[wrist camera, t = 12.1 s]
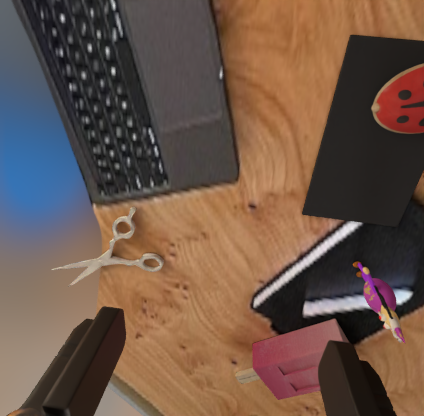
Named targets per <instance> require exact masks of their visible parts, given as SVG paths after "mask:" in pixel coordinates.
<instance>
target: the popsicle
mask: <svg viewBox="0 0 424 416" xmlns="http://www.w3.org/2000/svg"><path fill="white" fill-rule="evenodd" d="M329 340H335V341H342V342H348V343H349V341H348V339H347V338H346V336H345V334H344V333H343V331H342V329H341V327H340V326H339V324H338V322H337V321H336V319H332V320H329V321H325V322H322V323H319V324H315V325H312V326H309V327H305V328H302V329H299V330H295V331H292V332H289V333H286V334H282V335H279V336H276V337H272V338H269V339H266V340H262V341H259V342H256V343H253V345H252V346H253V368H250V369H247V370H243V371H239V372H236V379H237V380H238V381H239V382H240V383H241V384H243V383H247V382H251V381H255V380H259V379H261V380H262V381H263V382H264V383H265V385H266V386H267V387H268V388H269V389H270V391H271V392H272V393H273V394H274V396H275V397H276V398H277V399H278V400H280V399H284V398H289V397H293V396H298V395H303V394H307V393H312V392H316V391H321V389H320V385H319V380H318V366H319V363H320V360H321V358H322V355H323V353H324V350H325V348H326V345H327V343H328V341H329Z"/></svg>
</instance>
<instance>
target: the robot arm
mask: <svg viewBox="0 0 424 416" xmlns="http://www.w3.org/2000/svg"><path fill="white" fill-rule="evenodd" d="M125 340H126V329H125V320H124V311H123V309H119V308H113V307H106V306H104V307H102V308H101V309H100V311H99V312H98V314H97V316H96V317H95V319H94V320H92V319H86V320H84V321H83V322H82V323H81V324H80V325H78V326H77V327H76V328H75V329H74V330H73V331H72V333H71V334H70V336H69V337H68V339H67V340H66V342H65V345H63V347H62V348H61V349H60V351H59V352H58V355H57V356H56V357H55V358H54V360H53V361H52V363H51V364H50V366H49V367H48V369H47V370H46V372H45V373H44V375H43V376H42V378H41V379H40V381H39V382H38V384H37V385H36V387H35V388H34V390H33V391H32V393H31V394H30V396H29V397H28V399H27V400H26V401H25V403H24V404H23V405H22V406H21V407H20V408H19V409H18V410H16V411H14V412H12V413H10V414H8V415H7V416H94V414H95V411H96V409H97V407H98V405H99V403H100V400H101V398H102V396H103V393H104V391H105V389H106V387H107V385H108V382H109V380H110V378H111V376H112V373H113V371H114V369H115V367H116V364H117V362H118V360H119V358H120V355H121V353H122V351H123V348H124V345H125ZM318 380H319V385H320V389H321V394H322V398H323V402H324V407H325V411H326V415H327V416H397V415H396V413H395V411H393V406H392V404H391V402H390V399H389V397H387V393H386V390H385V388H384V386H383V383H382V381H381V379H380V377H379V375H378V374H377V373H376V372H375V370H374V369H373V368H372V367H371V365H370V364H369V363H368V362H367V361H362V360H359V358H358V355H357V353H356V350H355V348H354V346H353V344H351V343H348V342H342V341H335V340H329V341H328V343H327V345H326V348H325V350H324V353H323V355H322V358H321V360H320V363H319V366H318Z"/></svg>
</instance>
